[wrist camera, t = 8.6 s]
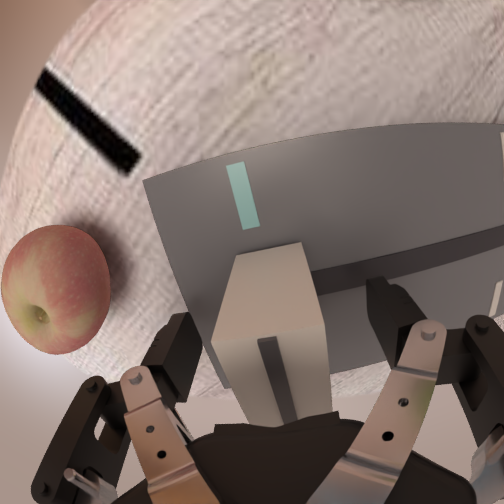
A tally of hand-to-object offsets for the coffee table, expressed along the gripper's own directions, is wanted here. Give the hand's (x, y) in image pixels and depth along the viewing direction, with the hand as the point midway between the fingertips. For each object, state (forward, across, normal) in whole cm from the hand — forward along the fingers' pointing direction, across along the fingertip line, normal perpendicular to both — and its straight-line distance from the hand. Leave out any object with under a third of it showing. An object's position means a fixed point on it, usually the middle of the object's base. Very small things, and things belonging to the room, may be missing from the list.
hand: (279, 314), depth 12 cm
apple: (+5, +13, -3) cm, 14 cm away
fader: (+2, 0, 0) cm, 2 cm away
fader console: (+5, -9, 0) cm, 10 cm away
